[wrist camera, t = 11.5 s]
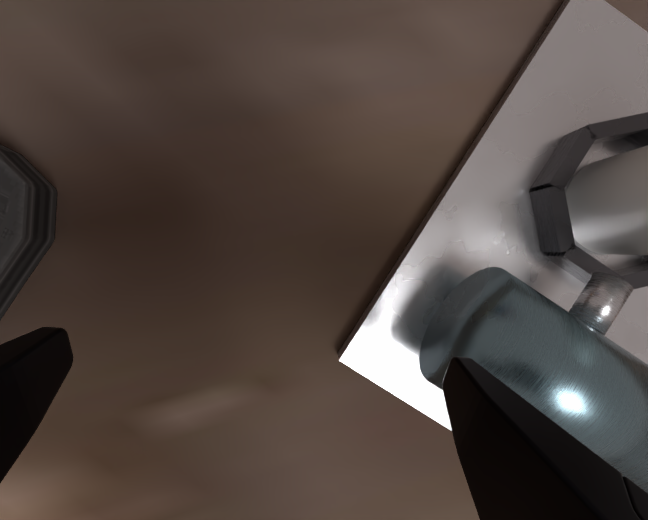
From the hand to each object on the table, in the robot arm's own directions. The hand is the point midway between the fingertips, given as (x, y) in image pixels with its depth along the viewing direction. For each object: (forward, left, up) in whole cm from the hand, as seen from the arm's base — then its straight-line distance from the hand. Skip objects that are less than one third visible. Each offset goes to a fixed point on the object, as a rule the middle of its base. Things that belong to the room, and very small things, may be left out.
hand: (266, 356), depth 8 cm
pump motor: (-6, -15, -11) cm, 20 cm away
